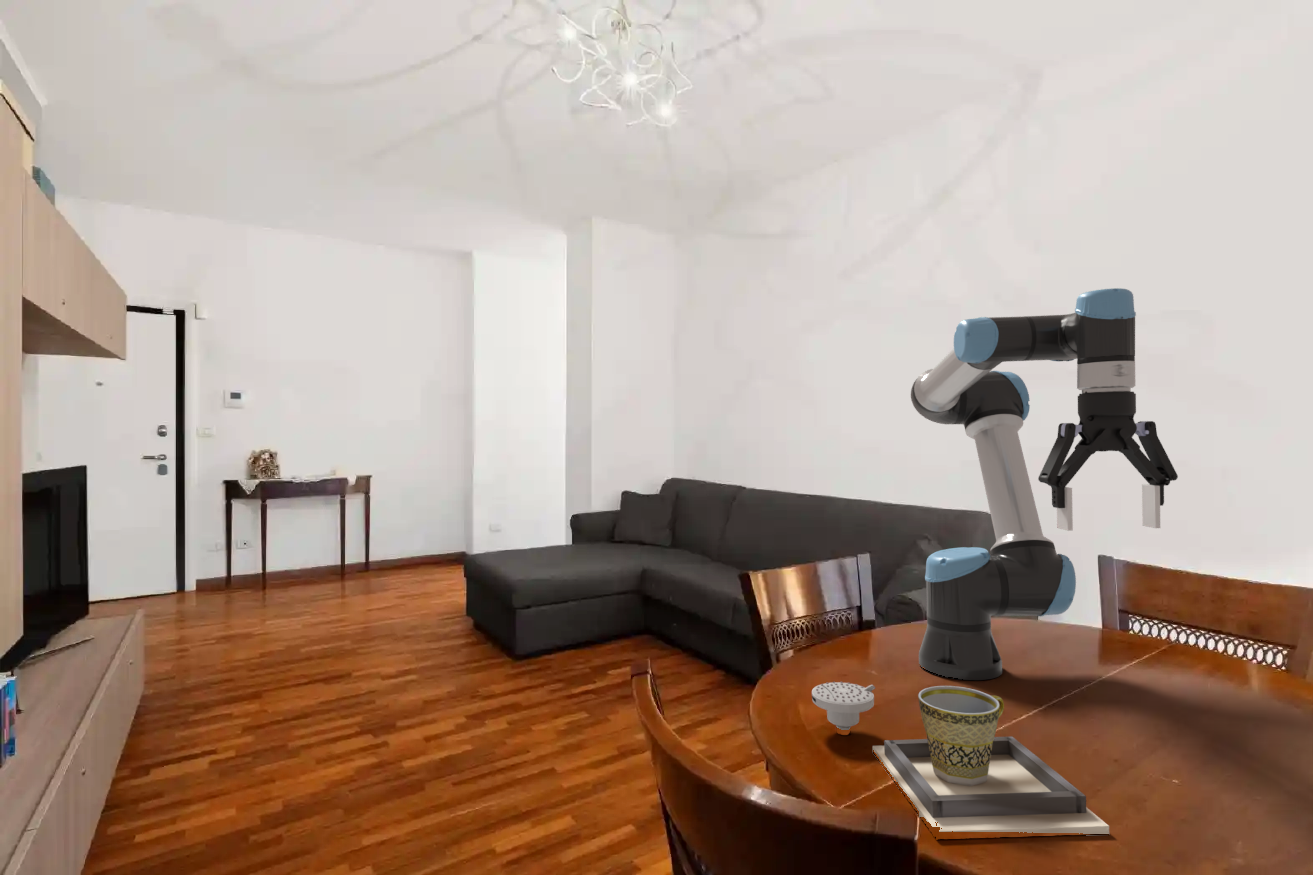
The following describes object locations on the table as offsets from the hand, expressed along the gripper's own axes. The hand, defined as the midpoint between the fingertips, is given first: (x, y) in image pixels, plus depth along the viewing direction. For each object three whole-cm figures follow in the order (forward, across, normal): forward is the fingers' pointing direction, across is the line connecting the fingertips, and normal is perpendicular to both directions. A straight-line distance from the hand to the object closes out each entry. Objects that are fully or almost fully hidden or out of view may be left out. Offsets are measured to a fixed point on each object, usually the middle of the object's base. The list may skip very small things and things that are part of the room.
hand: (1108, 528), depth 106 cm
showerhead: (+31, -41, +2) cm, 52 cm away
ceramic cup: (+30, -29, -14) cm, 44 cm away
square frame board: (+31, -29, -16) cm, 46 cm away
